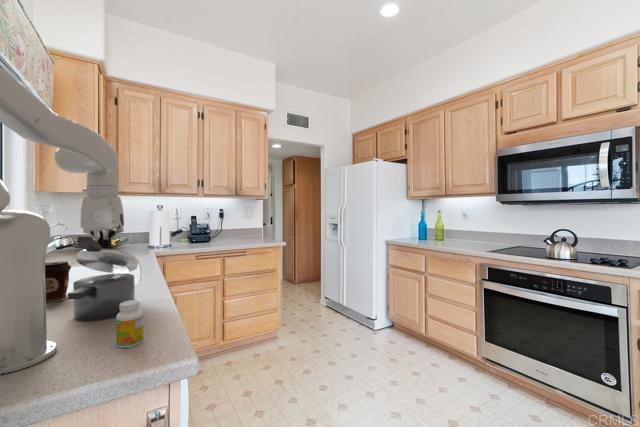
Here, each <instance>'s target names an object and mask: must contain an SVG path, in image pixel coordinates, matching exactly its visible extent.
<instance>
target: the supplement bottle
mask: <svg viewBox="0 0 640 427" xmlns="http://www.w3.org/2000/svg"><path fill="white" fill-rule="evenodd" d="M140 303H141V302H140V300H137V299H135V300H130V301H125V302H122V303H120V305H119V309H120V311H121V312H120V313H118V314H117V316H116V317H115V326H116V327H115V331H116V337H115V338H116V341H115V342H116V347H117V348H120V349H128V348H133V347H135V346H138V345H140V344H142V343H143V341H144V312H143V310H142V309H140V305H141V304H140Z"/></svg>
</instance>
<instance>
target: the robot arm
mask: <svg viewBox="0 0 640 427" xmlns="http://www.w3.org/2000/svg"><path fill="white" fill-rule="evenodd" d="M0 124H3V125H4V126H5V127H7V128H8V129H10V130H11V131H12V132H14V133H16V134H17V135H18V136H19V137H21V138H23V139H25V140H27V141H30V142H33V143H36V144H40V145H44V146H49V147H54V148H57V149H56V150H55V152H54V154H53V159H54V163H55V164H56V166H57V167H58V168H59V169H60V170H62V171H64V172H66V173H67V172H68V173H71V174H72V173H73V174H86V187H84V188H82V193H85V194H86V196H84V197H83V198H82V202H81V208H80V210H81V211H80V228H81V229H82V230H83V233H84V234H88V235H91V237H93V238H94V240H95V241H96V242H97V243H98V244H99V245H100V246H102V247H101V248H106V249H112V239H113V238H114V237H115V235H117V234H121V233H124V232H125V229H124V226H125V215H124V208H123V203H122V200H121V197H120V196H119V190H118V189H119V186H118V184H119V183H118V181H119V180H118V167H119V165H120V164H119V162H120V160H119V155H118V153H117V151H116V150H115V148H114V147H113V146H112V145H111V144H110V143H109V142H108V140H106V139H105V138H104V137H103V136H102V135H100V134H99V133H98V132H96V131H95V130H92V129H91V128H89V127H87V126H85V125H82V124H80V123H77V122H76V121H74V120H71V119H69V118H66V117H64V116H62V115H59V114H57V113H56V112H54V111H53V110H52V109H51V108H50V107H48V106H47V105H46V104H45V103H44V102H42V101H41V100H40V99H39V98H38V97H37V96H36V95H34V93H32V92H31V91H30V90H29V89H28V88H27V87H26V86H25V85H24V84H22V82H20V81H19V80H17V78H16V77H14V76H13V75H12V74H11V73H10V72H8V71H7V70H5V69H4V68H2V67H1V66H0ZM10 195H11V194H10V191H9V189H8V188H7V187H6V185H5V183H4V182H3V181H2V180H1V179H0V375H3V374H2V373H4V374H9V373H13V372H16V371H19V370H20V371H21V370H22V369H26V368H28V367H31V366H33V365H36V364H38V363H41V362H43V361H45V360H47V359H48V358H49V357H52V356H53V355H54V354H55V353H56V351H57V343H56V342H54V341H51V340H48V336H47V333H48V330H47V326H48V325H47V302H46V290H45V263H46V258H47V257H46V256H47V251H48V246H49V242H50V238H51V227H50V224H49V222H48V221H47V220H46V219H45V218H44V217H43V216H41V214H39V213H36V212H32V211H28V210H19V209H17V210H16V209H8V210H7V208H8V206H9V204H10V202H11V196H10ZM8 372H9V373H8Z"/></svg>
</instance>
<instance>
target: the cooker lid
mask: <svg viewBox="0 0 640 427" xmlns="http://www.w3.org/2000/svg"><path fill="white" fill-rule="evenodd" d="M93 238H94V237H93V236H78V237H77V239H76V243H77V244H78V245H79V246H81V247H82V248H83V249H82V250H80V251H78V252H77V255H76V257H75V260H76V262H77V263H78V264H80V265H81V266H82V267H85V268H88V269H91V270H93V271H98V272H103V273H108V274H127V273H130V272H133V271H135V270H137V269H138V266H139V260H138V259H137V258H136V257H135V256H133V255H132V254H129V253H127V252H124V251H121V250H118V249H117V250H116V249H112V248H111V249H106V248H101V247H102V246H100V245H99V244H98V243H97V240H96V239H95V238H94V239H93Z"/></svg>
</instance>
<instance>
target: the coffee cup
mask: <svg viewBox="0 0 640 427" xmlns="http://www.w3.org/2000/svg"><path fill="white" fill-rule="evenodd" d="M71 269H72V266H71V264H69V261H67V260H66V261H63V260H62V261H54V262H53V261H52V262H51V261H50V262H49V261H48V262H45V290H46V303H53V302H60V301H65V300H68V295H67V294H68V288H69V282H70V275H69V274H70V270H71Z"/></svg>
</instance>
